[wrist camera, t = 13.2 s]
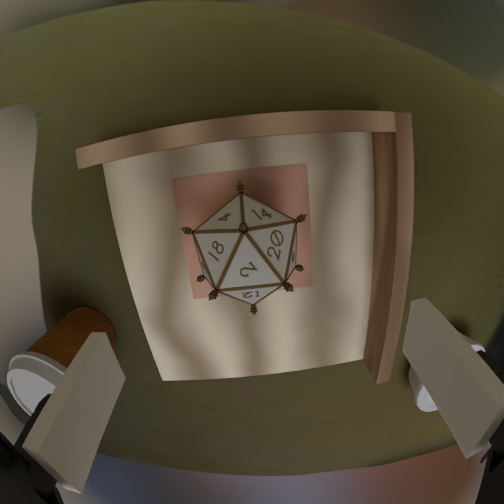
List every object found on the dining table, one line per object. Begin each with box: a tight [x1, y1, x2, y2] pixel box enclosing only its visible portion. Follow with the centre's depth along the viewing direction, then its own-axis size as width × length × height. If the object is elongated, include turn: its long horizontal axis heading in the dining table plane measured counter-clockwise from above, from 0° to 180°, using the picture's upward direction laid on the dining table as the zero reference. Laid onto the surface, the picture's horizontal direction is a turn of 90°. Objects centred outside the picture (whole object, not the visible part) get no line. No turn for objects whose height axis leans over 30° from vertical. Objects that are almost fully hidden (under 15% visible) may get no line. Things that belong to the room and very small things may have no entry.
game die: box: [181, 180, 307, 316], centre depth 22 cm, size 9×8×10 cm
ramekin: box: [409, 332, 485, 412], centre depth 31 cm, size 11×11×5 cm
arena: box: [75, 110, 414, 385], centre depth 25 cm, size 24×26×5 cm
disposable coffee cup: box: [7, 307, 116, 416], centre depth 24 cm, size 10×10×12 cm
